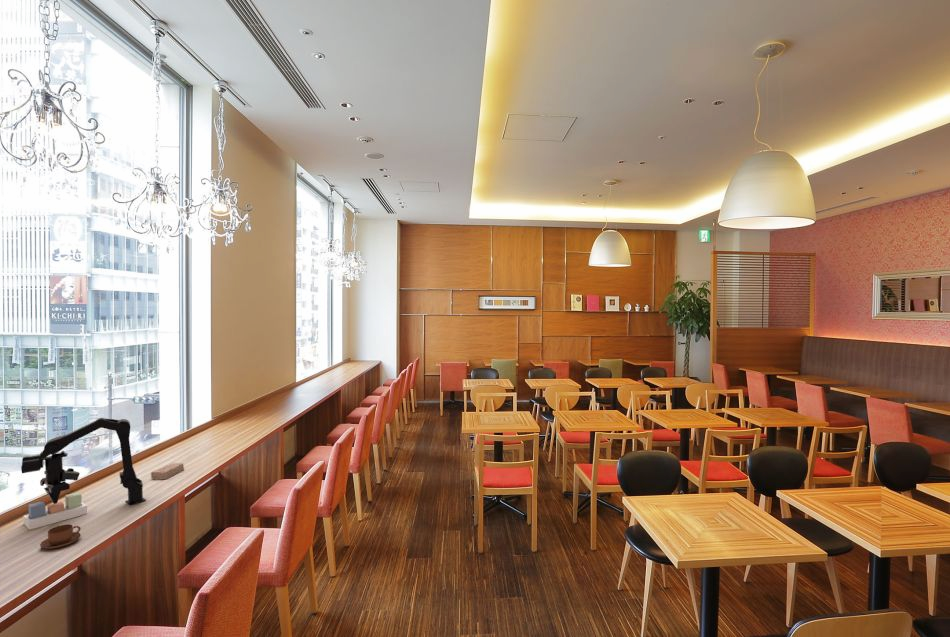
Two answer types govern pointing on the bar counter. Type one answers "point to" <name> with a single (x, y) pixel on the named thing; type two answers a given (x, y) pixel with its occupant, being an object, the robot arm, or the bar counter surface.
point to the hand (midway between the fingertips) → (55, 503)
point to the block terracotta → (55, 507)
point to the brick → (167, 471)
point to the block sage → (73, 500)
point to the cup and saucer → (60, 536)
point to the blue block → (36, 510)
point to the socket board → (54, 517)
